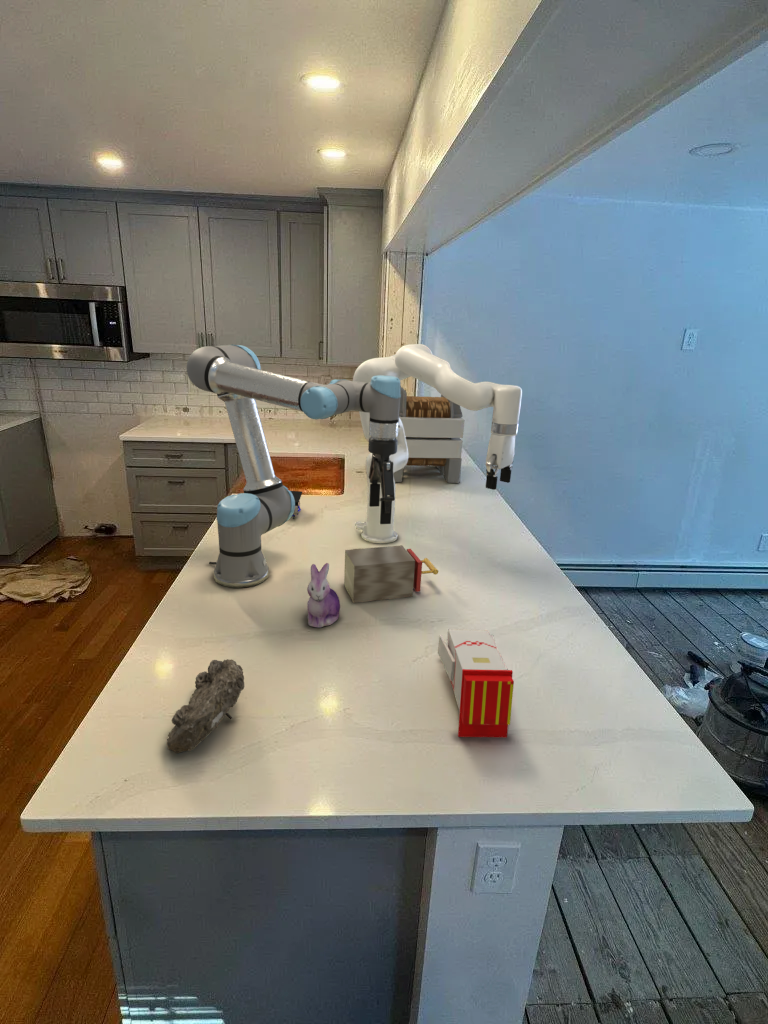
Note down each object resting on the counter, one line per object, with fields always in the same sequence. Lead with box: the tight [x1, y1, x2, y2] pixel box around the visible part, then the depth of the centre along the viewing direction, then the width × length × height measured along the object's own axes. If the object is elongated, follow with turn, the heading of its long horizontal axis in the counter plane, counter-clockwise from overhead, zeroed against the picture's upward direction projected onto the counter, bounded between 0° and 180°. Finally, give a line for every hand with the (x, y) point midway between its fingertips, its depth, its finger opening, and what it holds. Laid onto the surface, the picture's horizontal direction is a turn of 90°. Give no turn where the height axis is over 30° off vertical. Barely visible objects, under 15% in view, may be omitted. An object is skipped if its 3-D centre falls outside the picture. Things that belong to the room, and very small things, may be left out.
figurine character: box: [290, 490, 303, 520], centre depth 212 cm, size 7×8×15 cm
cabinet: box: [343, 544, 415, 604], centre depth 157 cm, size 17×11×11 cm, turn 107°
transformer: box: [393, 385, 465, 484], centre depth 268 cm, size 34×33×41 cm
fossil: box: [166, 658, 245, 754], centre depth 106 cm, size 22×10×15 cm
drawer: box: [406, 548, 439, 593], centre depth 159 cm, size 21×10×9 cm, turn 107°
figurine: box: [306, 562, 341, 628], centre depth 141 cm, size 9×10×15 cm
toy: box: [437, 628, 515, 738], centre depth 117 cm, size 12×13×30 cm
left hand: (379, 514), depth 154 cm, fingers open, 13 cm apart
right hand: (497, 485), depth 170 cm, fingers open, 9 cm apart
